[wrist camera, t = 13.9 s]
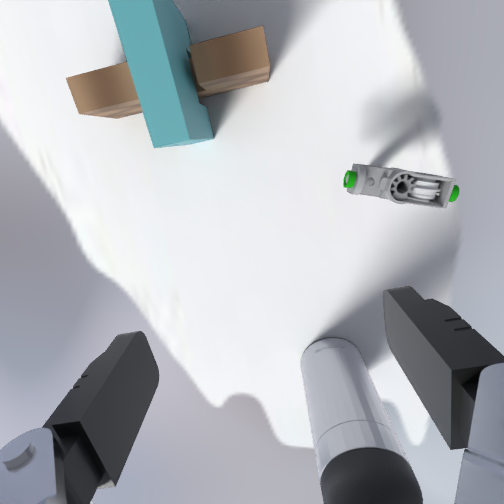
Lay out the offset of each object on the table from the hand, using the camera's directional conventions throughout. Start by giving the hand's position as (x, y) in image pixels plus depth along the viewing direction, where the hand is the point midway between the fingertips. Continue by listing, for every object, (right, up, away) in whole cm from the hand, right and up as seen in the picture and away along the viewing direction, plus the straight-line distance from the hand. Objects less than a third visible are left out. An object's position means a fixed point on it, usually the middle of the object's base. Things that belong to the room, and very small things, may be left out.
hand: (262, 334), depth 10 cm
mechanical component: (+14, +12, +27) cm, 33 cm away
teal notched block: (-8, +21, +24) cm, 33 cm away
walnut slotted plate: (-8, +21, +24) cm, 33 cm away
